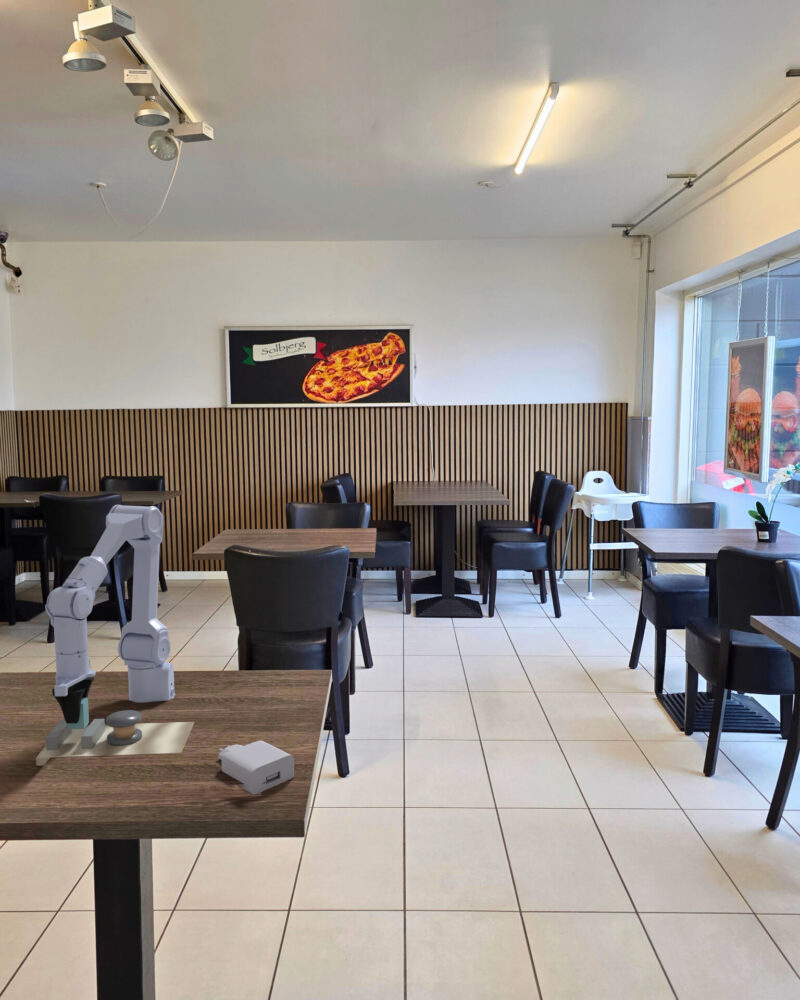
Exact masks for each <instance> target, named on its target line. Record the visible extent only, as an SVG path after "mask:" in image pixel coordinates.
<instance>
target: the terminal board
mask: <svg viewBox="0 0 800 1000" xmlns="http://www.w3.org/2000/svg"><path fill="white" fill-rule="evenodd" d="M194 724H195V721H182V722H181V721H176V722H175V721H174V722H150V723H148V722H147V723H146V722H145V723H137V724H135V728H137V729H140V730H141V731H142V738H141V740H139V741H138V742H136V743H133V744H130V745H125V746H114V745H110V744H108V742H107V735H108V734H109V733H111V732H113V727H110V726H108V725H107V724H105V732H104V733H103V735H102V736H101V738H100V739H99V741H98V742H97V743H96V745H95V746H94V748H93V749H82V742H81V736H82V735H83V733H84V732H85V731H86V729H87V728H88V727H89V725H90V724H89V725H87V726H86V727H85V729H72V732H71V733H70V735H69V736H68V737H67V739H66V740H65V741H64V742H63V744H62V745H61V746H60V747H59V749H58V750H46V745H45V746H44V747H43V749H42V750H41V751H40V752H39V754H37V756H36V757H35V763H36V766H45V765H46V764H47V762H48V761H49V759H51V758H72V757H73V758H74V757H75V758H76V757H100V756H101V757H103V756H127V755H128V756H129V755H130V756H131V755H133V756H134V755H155V754H157V755H158V754H159V755H161V754H163V755H164V754H182V752H183V749H184V747H185V745H186V744H187V740H188V738H189V736H190V733H191V731H192V729H193V726H194Z"/></svg>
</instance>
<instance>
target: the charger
mask: <svg viewBox="0 0 800 1000" xmlns="http://www.w3.org/2000/svg"><path fill="white" fill-rule="evenodd" d="M218 751H219V753H218V755H217V758H218V759H219V760H220V761H221V772H223V773H225V774H226V775H228V776H230V777H231V778H233V779H235V780H237V781H238V782H240V783H241V784H239V783H238V784H236V786H237V787H239V788H240V789H242V790H244V791H246V792H248V793H249V794H250V795H253V796H255V795H257V794H260V793H262V792H265V791H266V790H269V789H271V788H273V787H276V786H278V785H279V784H282V783H285V782H287V781H289V780H291V779H293V778H294V776H295V756H294V755H292V754H290V753H288V752H286V751H284V750H282V749H280V748H278V747H277V746H276V747H275V746H274V745H272V744H270V743H267V742H265V741H264V740H257V741H254V742H251V743H250V742H249V743H247V744H245V745H240V744H233V745H227V746H226V747H225V748H219V749H218Z"/></svg>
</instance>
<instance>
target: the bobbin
mask: <svg viewBox="0 0 800 1000" xmlns="http://www.w3.org/2000/svg"><path fill="white" fill-rule="evenodd" d="M105 721H106V722H105V725H108V726H110V727H113V732H111V733H109V734H108V735H107V742H108V744H110V745H114V746H125V745H130V744H133V743H136V742H138V741H139V740H141V738H142V731H141V730H140V729H137V728H135V724H140V722H141V721H142V713H141V711H138V710H131V709H128V710H127V709H126V710H119V711H116V712H112V713H111V714H110V713H109V715H108V716H106V719H105Z"/></svg>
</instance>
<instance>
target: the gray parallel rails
mask: <svg viewBox="0 0 800 1000" xmlns="http://www.w3.org/2000/svg"><path fill="white" fill-rule="evenodd" d="M105 721H106V719H105V718H94V719H93V720H92V721H91V722H90V724H89V727H88V728H87V729H86V731H85V732H84V733H83V735H82V736H81V742H82V749H93V748H94V746H95V745H96V743H97V742H98V741H99V739H100V738H101V736H102V735H103V733H104V732H105V725H106V722H105ZM71 732H72V729H68V724H67V723H66V721H65V719H61V720H59V721H58V723H56V725H55V726H54V727H53V728H52V729H51V731H50V732H49V733H48V735H47V736H46V737H45V746H46V750H58V749H59V747H60V746H61V745H62V744H63V742H64V741H65V740H66V739H67V737H68V736H69V735H70V733H71Z"/></svg>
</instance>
